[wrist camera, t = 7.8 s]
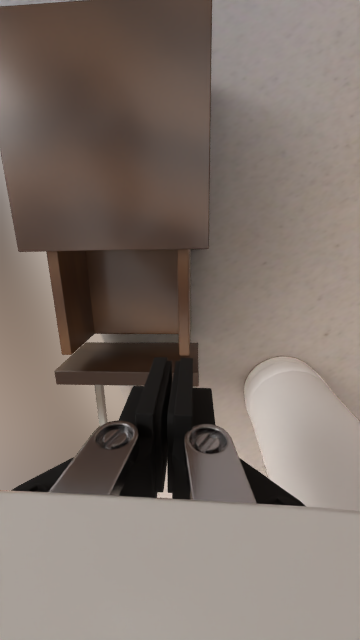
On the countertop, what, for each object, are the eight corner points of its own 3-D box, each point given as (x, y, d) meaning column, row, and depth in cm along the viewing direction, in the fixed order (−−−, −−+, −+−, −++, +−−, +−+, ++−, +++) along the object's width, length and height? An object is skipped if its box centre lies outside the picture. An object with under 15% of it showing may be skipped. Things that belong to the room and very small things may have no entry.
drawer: (197, 411, 29) (198, 456, 23) (93, 408, 29) (67, 452, 23) (198, 233, 24) (199, 231, 18) (72, 236, 24) (31, 234, 18)
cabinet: (204, 246, 25) (208, 248, 17) (72, 248, 26) (18, 251, 18) (206, 81, 21) (212, -10, 14) (52, 90, 22) (-26, 7, 14)
